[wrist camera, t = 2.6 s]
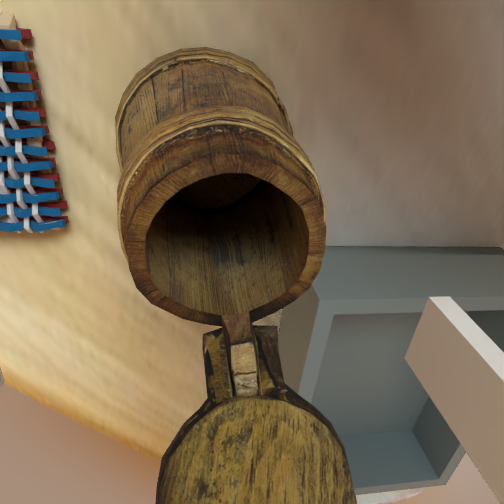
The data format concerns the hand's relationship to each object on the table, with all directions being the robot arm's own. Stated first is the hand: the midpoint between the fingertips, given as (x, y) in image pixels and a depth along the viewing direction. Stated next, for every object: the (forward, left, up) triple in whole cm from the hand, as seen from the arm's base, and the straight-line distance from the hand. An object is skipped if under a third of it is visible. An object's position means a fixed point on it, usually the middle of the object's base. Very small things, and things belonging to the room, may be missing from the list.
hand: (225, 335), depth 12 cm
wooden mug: (0, 0, -12) cm, 12 cm away
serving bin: (+14, +13, -12) cm, 22 cm away
